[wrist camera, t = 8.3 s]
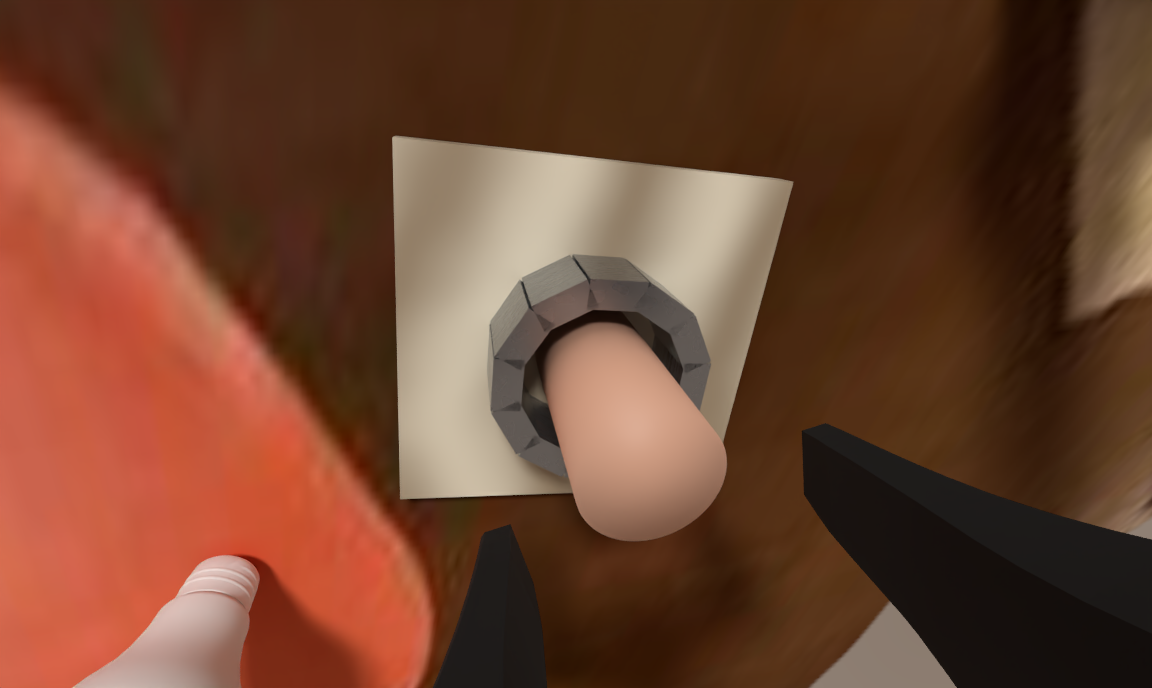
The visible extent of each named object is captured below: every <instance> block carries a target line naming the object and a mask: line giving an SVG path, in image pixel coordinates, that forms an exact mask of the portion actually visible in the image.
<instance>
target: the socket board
mask: <svg viewBox="0 0 1152 688" xmlns="http://www.w3.org/2000/svg"><path fill="white" fill-rule="evenodd" d="M392 140H393V186H394V232H395V278H396V324H397V370H398V416H399V462H400V499H418V498H445V497H472V496H499V495H526V494H553V493H573V491H572V487H571V484H570V480H569V476H568V473H567V469H566V466H565V462H564V459H563V455H562V452H561V448H560V445H559V441H558V438H557V434H556V431H555V427H554V424H553V420H552V416H551V413H550V409H549V406H548V402H547V399H546V395H545V392H544V388H543V385H542V381H541V378H540V374H539V371H538V367H537V364H536V359H535V351H536V350H537V348H538V347H539V346H540V344H541V343H542V342H543V340H544V339H545V337H546V336H547V335H548V333H549V332H550V331H551V330H552V329H554V328H556V327H558V326H560V325H562V324H565V323H567V322H569V321H571V320H573V319H575V318H577V317H579V316H581V315H583V314H585V313H588V312H590V311H592V310H610V311H621V312H622V313H623V314H624V315H625V316H626V317H627V319H628V320H629V321H630V322H631V324H632V325H633V326H634V328H635V329H636V330H637V331H638V333H639V334H640V335H641V337H642V338H643V339H644V340H645V342H646V343H647V344H648V346H649V347H650V348H651V349H652V351H653V352H654V353H655V355H656V356H657V357H658V358H659V360H660V361H661V362H662V364H663V365H664V366H665V367H666V369H667V370H668V371H669V373H670V374H671V375H672V376H673V378H674V379H675V380H676V382H677V383H678V384H679V385H680V387H681V388H682V389H683V391H684V392H685V393H686V394H687V396H688V397H689V398H690V400H691V401H692V402H693V403H694V405H695V406H696V407H697V409H698V410H699V411H700V412H701V414H702V415H703V416H704V418H705V419H706V420H707V421H708V423H709V424H710V425H711V427H712V428H713V429H714V430H715V432H716V433H717V434H718V436H719V437H720V439H721V441H722V443H723V439H724V436H725V432H726V428H727V425H728V421H729V417H730V413H731V410H732V406H733V402H734V399H735V395H736V391H737V388H738V384H739V380H740V377H741V373H742V369H743V366H744V362H745V358H746V355H747V351H748V347H749V344H750V340H751V336H752V332H753V329H754V325H755V321H756V318H757V314H758V310H759V307H760V303H761V299H762V296H763V292H764V288H765V285H766V281H767V277H768V274H769V270H770V266H771V263H772V259H773V255H774V251H775V248H776V244H777V240H778V237H779V233H780V229H781V226H782V222H783V218H784V215H785V211H786V207H787V204H788V200H789V196H790V193H791V189H792V185H793V182H791V181H787V180H782V179H777V178H768V177H759V176H750V175H741V174H732V173H723V172H715V171H706V170H697V169H688V168H679V167H670V166H661V165H652V164H643V163H635V162H626V161H617V160H608V159H599V158H590V157H581V156H572V155H564V154H555V153H546V152H537V151H528V150H519V149H510V148H501V147H492V146H484V145H475V144H466V143H457V142H448V141H439V140H430V139H421V138H412V137H404V136H394V137H392Z"/></svg>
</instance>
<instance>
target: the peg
mask: <svg viewBox="0 0 1152 688" xmlns="http://www.w3.org/2000/svg"><path fill="white" fill-rule="evenodd" d="M535 359H536V364H537V367H538V371H539V374H540V378H541V381H542V385H543V388H544V392H545V395H546V399H547V402H548V406H549V409H550V413H551V416H552V420H553V424H554V427H555V431H556V434H557V438H558V441H559V445H560V448H561V452H562V455H563V459H564V462H565V466H566V469H567V473H568V476H569V480H570V484H571V487H572V491H573V494H574V498H575V501H576V505H577V507H578V510H579V512H580V514H581V516H582V517H583V519H584V520H585V521H586V522H587V523H588V525H590V526H591V527H592V528H593V529H594V530H596V531H598V532H599V533H601V534H603V535H605V536H608V537H610V538H614V539H617V540H624V541H645V540H651V539H656V538H660V537H663V536H666V535H669V534H671V533H674V532H676V531H678V530H680V529H682V528H683V527H685V526H687V525H688V524H690V523H691V522H692V521H694V520H695V519H696V518H698V517H699V516H700V515H701V514H702V513H703V512H704V511H705V510H706V509H707V508H708V507H709V506H710V505H711V503H712V502H713V500H714V499H715V498H716V496H717V494H718V493H719V491H720V489H721V486H722V484H723V482H724V478H725V474H726V467H727V457H726V452H725V448H724V445H723V443H722V441H721V439H720V437H719V436H718V434H717V433H716V432H715V430H714V429H713V428H712V427H711V425H710V424H709V423H708V421H707V420H706V419H705V418H704V416H703V415H702V414H701V412H700V411H699V410H698V409H697V407H696V406H695V405H694V403H693V402H692V401H691V400H690V398H689V397H688V396H687V394H686V393H685V392H684V391H683V389H682V388H681V387H680V385H679V384H678V383H677V382H676V380H675V379H674V378H673V376H672V375H671V374H670V373H669V371H668V370H667V369H666V367H665V366H664V365H663V364H662V362H661V361H660V360H659V358H658V357H657V356H656V355H655V353H654V352H653V351H652V349H651V348H650V347H649V346H648V344H647V343H646V342H645V340H644V339H643V338H642V337H641V335H640V334H639V333H638V331H637V330H636V329H635V328H634V326H633V325H632V324H631V322H630V321H629V320H628V319H627V317H626V316H625V315H624V314H623V313H622V312H621V311H610V310H592V311H590V312H588V313H585V314H583V315H581V316H579V317H577V318H575V319H573V320H571V321H569V322H567V323H565V324H562V325H560V326H558V327H556V328H554V329H552V330H551V331H550V332H549V333H548V335H547V336H546V337H545V339H544V340H543V342H542V343H541V344H540V346H539V347H538V348H537V350H536V351H535Z"/></svg>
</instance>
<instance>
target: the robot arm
mask: <svg viewBox="0 0 1152 688" xmlns="http://www.w3.org/2000/svg"><path fill="white" fill-rule="evenodd" d="M802 447H803V476H804V495H805V497H806V498H807V500H808V501H809V503H810V504H811V506H812V507H813V509H814V510H815V512H816V513H817V515H818V516H819V518H820V519H821V520H822V522H823V523H824V525H825V526H826V527H827V529H828V530H829V532H830V533H831V534H832V535H833V536H834V538H835V539H836V540H837V541H838V542H839V543H840V545H841V546H842V547H843V548H844V549H845V550H846V552H847V553H848V554H849V555H850V556H851V557H852V558H853V560H854V561H855V562H856V563H857V564H858V565H859V566H860V568H861V569H862V570H863V571H864V572H865V573H866V574H867V575H868V577H869V578H870V579H871V580H872V581H873V582H874V583H875V585H876V586H877V587H878V588H879V589H880V590H881V591H882V592H883V594H884V595H885V596H886V597H887V598H888V599H889V600H890V602H891V603H892V604H893V605H894V606H895V607H896V608H897V609H898V611H899V612H900V613H901V614H902V615H903V617H904V618H905V619H906V620H907V621H908V622H909V624H910V625H911V626H912V628H913V629H914V630H915V631H916V632H917V634H918V635H919V636H920V638H921V639H922V640H923V642H924V643H925V645H926V646H927V647H928V649H929V650H930V651H931V653H932V654H933V655H934V657H935V658H936V659H937V661H938V662H939V664H940V665H941V666H942V667H943V669H944V670H945V672H946V673H947V674H948V675H949V677H950V679H951V680H952V681H953V683H954V684H955V686H956V687H957V688H1152V540H1151V539H1147V538H1143V537H1139V536H1134V535H1130V534H1126V533H1122V532H1118V531H1114V530H1110V529H1106V528H1102V527H1099V526H1095V525H1091V524H1087V523H1084V522H1080V521H1076V520H1072V519H1069V518H1065V517H1062V516H1058V515H1055V514H1052V513H1048V512H1045V511H1042V510H1038V509H1035V508H1032V507H1029V506H1026V505H1023V504H1020V503H1017V502H1014V501H1011V500H1008V499H1005V498H1002V497H999V496H996V495H993V494H990V493H988V492H985V491H982V490H979V489H977V488H974V487H972V486H969V485H966V484H964V483H961V482H959V481H956V480H954V479H951V478H948V477H946V476H943V475H941V474H939V473H936V472H934V471H931V470H929V469H927V468H924V467H922V466H920V465H917V464H915V463H913V462H910V461H908V460H906V459H904V458H901V457H899V456H897V455H895V454H892V453H890V452H888V451H886V450H884V449H881V448H879V447H877V446H875V445H873V444H870V443H868V442H866V441H864V440H862V439H860V438H857V437H855V436H853V435H851V434H849V433H847V432H844V431H842V430H840V429H838V428H835V427H833V426H831V425H828V424H826V423H825V424H822V425H819V426H816V427H812V428H809V429H806V430H803V431H802ZM433 688H547V681H546V669H545V657H544V645H543V634H542V626H541V620H540V615H539V609H538V604H537V599H536V594H535V588H534V584H533V581H532V578H531V576H530V573H529V571H528V568H527V566H526V563H525V561H524V558H523V555H522V553H521V550H520V548H519V545H518V543H517V540H516V538H515V535H514V532H513V530H512V527H511V525H507V526H504V527H500V528H497V529H494V530H491V531H488V532H485V533H484V534H483V536H482V537H481V541H480V546H479V551H478V555H477V559H476V563H475V567H474V571H473V575H472V578H471V582H470V585H469V589H468V592H467V595H466V599H465V602H464V605H463V608H462V611H461V614H460V618H459V621H458V624H457V627H456V629H455V632H454V635H453V638H452V640H451V643H450V646H449V648H448V651H447V654H446V656H445V659H444V662H443V664H442V667H441V669H440V672H439V674H438V677H437V679H436V681H435V684H434V686H433Z"/></svg>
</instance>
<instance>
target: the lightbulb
mask: <svg viewBox="0 0 1152 688" xmlns="http://www.w3.org/2000/svg"><path fill="white" fill-rule="evenodd" d="M259 581H260V577H259V573H258V571H257V569H256V567H255V566H254V565H253V564H252V563H251V562H249V561H248V560H246V559H244V558H241V557H238V556H233V555H220V556H215V557H212V558H209V559H207V560H205V561H203V562H201V563H200V564H199V565H198V566H196V568H195V569H194V571H193V572H192V574H191V575H190V576H189V577H188V578H187V580H186V581H185V584H184V585H183V586H182V587H181V589H180V590H179V593H178V595H177V596H176V598H174V599H172V600H171V601H169V602H168V603H167V604H166V605H165V606H163V607H162V608H161V609H160V611H159V612H158V614H157V615H156V617H155V618H154V619H153V621H152V622H151V624H150V625H149V626H148V628H147V629H146V630H145V631H144V632H143V633H142V634H141V635H140V636H139V638H138V639H137V640H136V641H135V642H134V643H133V644H132V645H131V646H130V647H129V648H128V649H127V650H125V651H124V652H123V653H122V654H121V655H120V656H118V657H117V658H116V659H115V660H113V661H112V662H110V663H108V664H107V665H105V666H104V667H102V668H101V669H99V670H97V671H96V672H94V673H93V674H91V675H89V676H88V677H86V678H85V679H83V680H82V681H81V682H79V683H78V684H77V685H75V686H74V687H72V688H242V687H241V683H240V660H241V655H242V649H243V644H244V641H245V638H246V636H247V633H248V630H249V622H250V619H249V614H248V613H249V611H250V609H251V606H252V602H253V600H254V597H255V594H256V592H257V589H258V585H259Z"/></svg>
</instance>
